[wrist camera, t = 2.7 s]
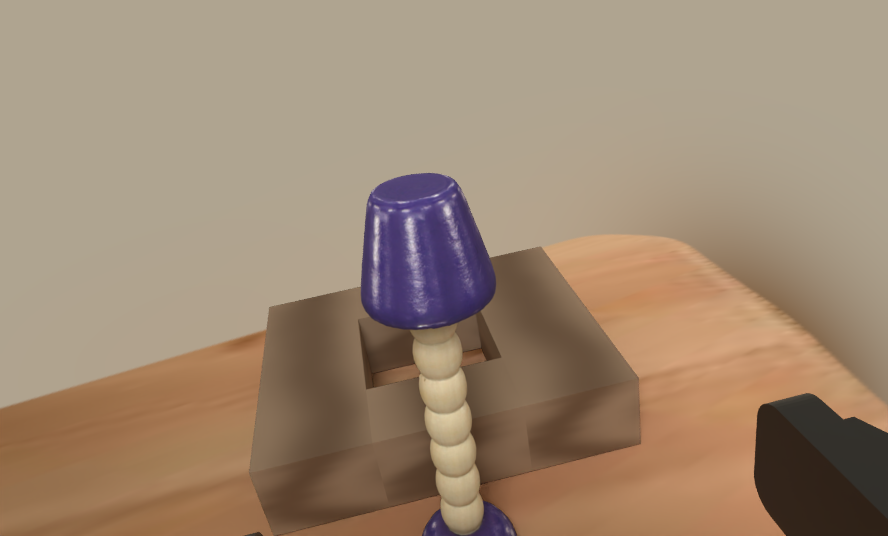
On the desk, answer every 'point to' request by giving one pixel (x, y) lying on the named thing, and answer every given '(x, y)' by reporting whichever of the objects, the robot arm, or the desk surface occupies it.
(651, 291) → the desk surface
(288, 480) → the socket block
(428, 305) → the toy lamp
